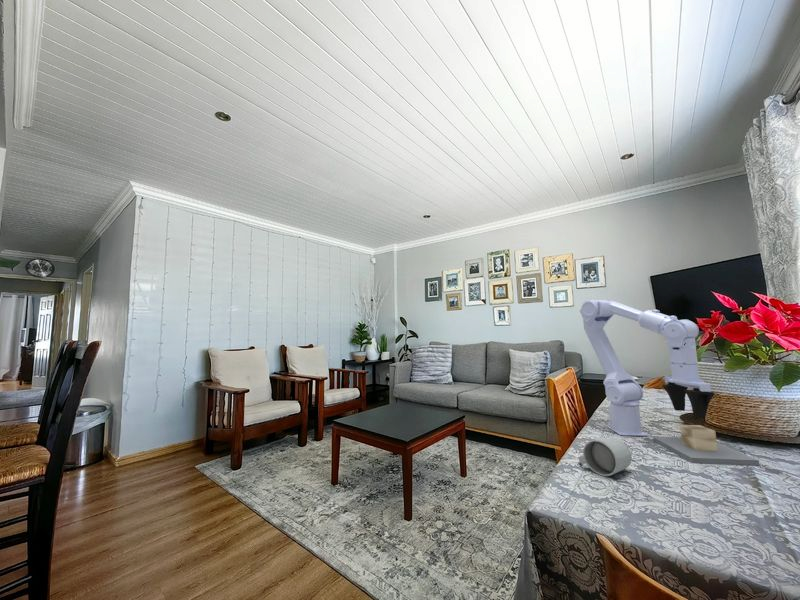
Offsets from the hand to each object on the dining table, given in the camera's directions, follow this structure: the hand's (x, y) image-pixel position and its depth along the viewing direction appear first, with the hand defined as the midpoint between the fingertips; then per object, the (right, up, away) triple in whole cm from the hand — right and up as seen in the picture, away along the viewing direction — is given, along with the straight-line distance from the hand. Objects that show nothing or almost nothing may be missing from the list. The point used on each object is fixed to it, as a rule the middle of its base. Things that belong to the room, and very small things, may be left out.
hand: (689, 413), depth 87 cm
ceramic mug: (-31, -10, -11) cm, 34 cm away
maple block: (+1, -8, -2) cm, 8 cm away
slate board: (+1, -9, -2) cm, 10 cm away
